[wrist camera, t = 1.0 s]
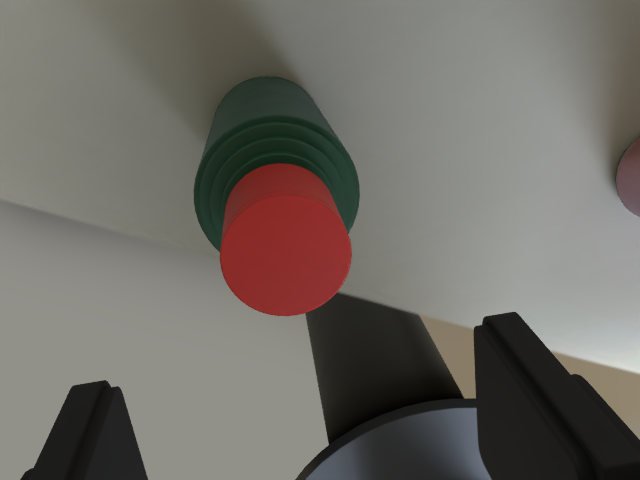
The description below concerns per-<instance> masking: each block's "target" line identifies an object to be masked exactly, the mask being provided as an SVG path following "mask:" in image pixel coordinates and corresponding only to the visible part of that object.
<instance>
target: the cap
mask: <svg viewBox="0 0 640 480" xmlns="http://www.w3.org/2000/svg"><path fill="white" fill-rule="evenodd" d="M351 256H352V253H351V243H350V239H349V236H348V233H347V230H346V228H345V225H344V223H343V221H342V218H341V216H340V214H339V211H338V209H337V207H336V204H335V202H334V200H333V197H332V195H331V193H330V191H329V189H328V188H327V186H326V185H325V184H324V183H323V181H322V180H321V179H320V178H319V177H317V176H316V175H315V174H314V173H312V172H310V171H309V170H307V169H305V168H303V167H300V166H297V165H293V164H286V163H277V164H269V165H265V166H262V167H259V168H257V169H255V170H253V171H251V172H249V173H248V174H247V175H245V176H244V177H243V178H242V179H241V180H240V181H239V182H238V183H237V184H236V185H235V187H234V188H233V190H232V191H231V193H230V195H229V197H228V200H227V204H226V208H225V215H224V224H223V232H222V240H221V249H220V263H221V269H222V273H223V276H224V278H225V281H226V283H227V284H228V286H229V288H230V289H231V291H232V292H233V293H234V294H235V295H236V296H237V297H238V298H239V299H240V300H241V301H242V302H243V303H245V304H246V305H248V306H249V307H251V308H253V309H255V310H257V311H260V312H263V313H266V314H270V315H277V316H291V315H298V314H303V313H306V312H309V311H312V310H314V309H316V308H318V307H320V306H321V305H323V304H324V303H326V302H327V301H328V300H329V299H331V298H332V297H333V296H334V295H335V294H336V293H337V292H338V290H339V289H340V287H341V286H342V285H343V283H344V281H345V279H346V277H347V274H348V272H349V269H350V264H351Z"/></svg>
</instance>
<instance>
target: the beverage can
mask: <svg viewBox="0 0 640 480" xmlns="http://www.w3.org/2000/svg"><path fill="white" fill-rule="evenodd" d="M616 184H617V191H618V195H619V197H620V200H621V202H622V203H623V205H624V206H625V207H626V208H627V209H628V210H629V211H630V212H632V213H633V214H635V215H637V216H639V217H640V138H638V139H637V140H636V141H635V142H634V143H633V144H632V145H631V146H630V147H629V148H628V149H627V150H626V152H625V153H624V155H623V157H622V159H621V161H620V163H619V166H618V170H617V176H616Z"/></svg>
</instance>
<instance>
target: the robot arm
mask: <svg viewBox="0 0 640 480" xmlns="http://www.w3.org/2000/svg"><path fill="white" fill-rule="evenodd" d="M474 353H475V354H474V355H475V379H476V380H475V381H476V406H477V432H478V447H479V452H480V456H481V459H482V462H483V464H484V466H485V468H486V470H487V472H488V474H489V476H490V478H491V480H640V440H639V439H638V438H637V436H636V435H635V434H634V433H633V432H632V431H631V430H630V429H629V428H628V426H627V425H626V424H625V423H624V422H623V421H622V420H621V419H620V418H619V416H618V415H617V414H616V413H615V412H614V411H613V410H612V409H611V407H610V406H609V405H608V404H607V403H606V402H605V401H604V400H603V399H602V397H601V396H600V395H599V394H598V393H597V392H596V391H595V390H594V388H593V387H592V386H591V385H590V384H589V383H588V382H587V381H586V380H585V379H584V378H583V377H582V376H580V375H577V374H573V375H570V374H569V372H568V371H567V370H566V369H565V368H564V367H563V366H562V364H561V363H560V362H559V361H558V360H557V359H556V358H555V356H554V355H553V354H552V353H551V352H550V350H549V349H548V348H547V347H546V346H545V345H544V344H543V342H542V341H541V340H540V339H539V338H538V337H537V335H536V334H535V333H534V332H533V331H532V330H531V329H530V327H529V326H528V325H527V324H526V323H525V322H524V320H523V319H522V318H521V317H520V316H519V315H518V314H517V313H516V312H510V313H504V314H498V315H492V316H486V317H484V319H483V322H482V325H480V326H475V328H474ZM21 480H148V478H147V475H146V471H145V468H144V465H143V461H142V458H141V454H140V451H139V448H138V444H137V441H136V438H135V434H134V431H133V427H132V424H131V420H130V417H129V414H128V410H127V407H126V404H125V400H124V397H123V394H122V391H121V389H120V388H119V387H118V386H117V387H111V386H110V384H109V383H108V382H107V381H106V380H104V381H98V382H92V383H86V384H80V385H75V386H73V387H72V388H71V389H70V391H69V393H68V395H67V398H66V400H65V402H64V404H63V406H62V409H61V411H60V413H59V415H58V417H57V419H56V421H55V423H54V425H53V428H52V430H51V432H50V434H49V436H48V439H47V440H46V443H45V445H44V447H43V449H42V451H41V453H40V456H39V458H38V460H37V462H36V464H35V466H34V468H32V469H29V470H28V471H26V472H25V473H24V475H23V477H22V478H21Z"/></svg>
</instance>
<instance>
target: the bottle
mask: <svg viewBox="0 0 640 480" xmlns="http://www.w3.org/2000/svg"><path fill="white" fill-rule="evenodd" d="M277 163H286V164H293V165H297V166H300V167H303V168H305V169H307V170H309V171H310V172H312V173H314V174H315V175H316V176H317V177H319V178H320V179H321V180H322V181H323V183H324V184H325V185H326V186H327V188H328V189H329V191H330V193H331V195H332V197H333V200H334V202H335V204H336V207H337V209H338V211H339V214H340V216H341V218H342V221H343V223H344V225H345V228H346V230H347V233H349V231H350V229H351V228H352V226H353V223H354V221H355V218H356V215H357V211H358V206H359V197H360V193H359V181H358V176H357V172H356V169H355V166H354V164H353V162H352V160H351V158H350V156H349V154H348V152H347V151H346V149H345V148H344V146H343V145H342V143H341V142H340V140H339V139H338V137H337V136H336V134H335V133H334V131H333V130H332V128H331V127H330V125H329V124H328V122H327V121H326V119H325V118H324V116H323V115H322V113H321V111H320V110H319V108H318V107H317V105H316V104H315V102H314V101H313V99H312V98H311V97H310V96H309V95H308V93H307V92H306V91H304V90H303V89H302V88H301V87H299V86H298V85H296V84H295V83H293V82H291V81H288V80H286V79H283V78H278V77H270V76H265V77H257V78H252V79H249V80H247V81H244V82H242V83H240V84H239V85H237V86H236V87H234V88H233V89H232V90H231V91H230V92H229V93H227V95H226V96H225V97H224V98H223V100H222V101H221V103H220V105H219V106H218V109H217V111H216V114H215V117H214V120H213V123H212V126H211V130H210V133H209V136H208V139H207V142H206V146H205V149H204V152H203V155H202V158H201V162H200V165H199V168H198V171H197V175H196V178H195V185H194V204H195V211H196V214H197V218H198V221H199V223H200V226H201V228H202V230H203V232H204V233H205V235H206V237H207V238H208V240H209V241H210V242H211V243H212V245H213V246H214V247H215V248H216V249H217V250H218V251H219V252H220V249H221V240H222V232H223V224H224V215H225V208H226V204H227V200H228V197H229V195H230V193H231V191H232V190H233V188H234V187H235V185H236V184H237V183H238V182H239V181H240V180H241V179H242V178H243V177H244V176H245V175H247V174H248V173H249V172H251V171H253V170H255V169H257V168H259V167H262V166H265V165H269V164H277Z"/></svg>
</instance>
